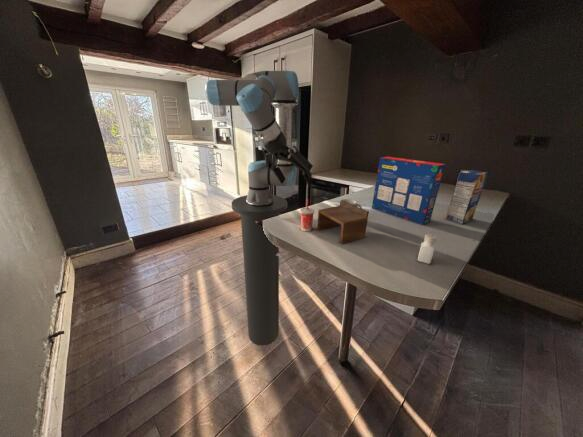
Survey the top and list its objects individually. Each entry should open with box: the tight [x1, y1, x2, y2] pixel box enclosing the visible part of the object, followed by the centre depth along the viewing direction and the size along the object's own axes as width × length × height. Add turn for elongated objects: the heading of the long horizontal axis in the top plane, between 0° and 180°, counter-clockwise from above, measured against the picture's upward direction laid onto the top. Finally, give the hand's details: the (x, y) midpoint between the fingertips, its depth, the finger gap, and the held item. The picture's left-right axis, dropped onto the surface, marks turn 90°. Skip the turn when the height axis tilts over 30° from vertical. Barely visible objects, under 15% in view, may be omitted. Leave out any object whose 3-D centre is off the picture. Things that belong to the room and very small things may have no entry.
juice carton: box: [445, 169, 489, 225], centre depth 113 cm, size 12×8×24 cm, turn 124°
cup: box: [340, 198, 363, 209], centre depth 116 cm, size 11×8×8 cm
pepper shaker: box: [417, 233, 437, 265], centre depth 79 cm, size 4×4×10 cm
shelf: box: [316, 200, 370, 245], centre depth 98 cm, size 16×13×11 cm
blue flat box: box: [371, 156, 446, 226], centre depth 117 cm, size 28×8×28 cm, turn 38°
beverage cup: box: [299, 198, 315, 232], centre depth 100 cm, size 6×6×14 cm
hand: (296, 182), depth 90 cm, fingers open, 13 cm apart
